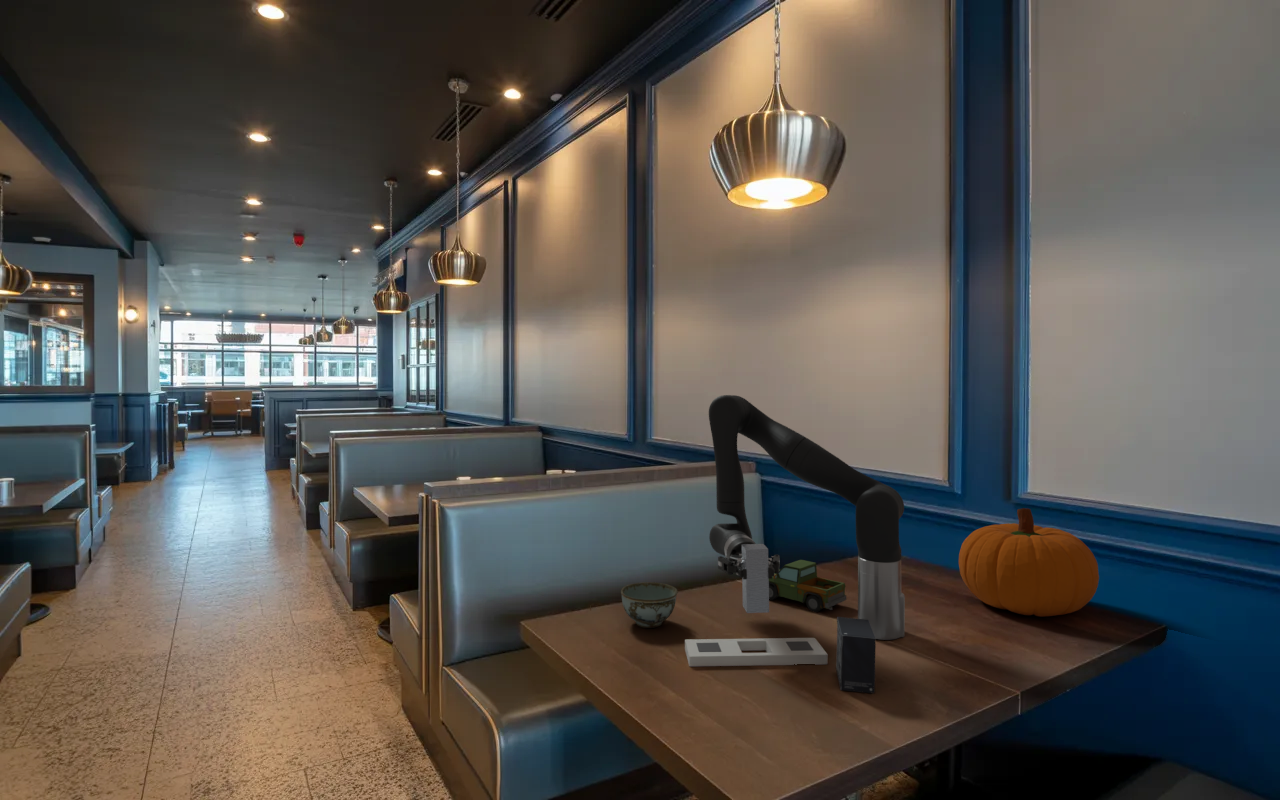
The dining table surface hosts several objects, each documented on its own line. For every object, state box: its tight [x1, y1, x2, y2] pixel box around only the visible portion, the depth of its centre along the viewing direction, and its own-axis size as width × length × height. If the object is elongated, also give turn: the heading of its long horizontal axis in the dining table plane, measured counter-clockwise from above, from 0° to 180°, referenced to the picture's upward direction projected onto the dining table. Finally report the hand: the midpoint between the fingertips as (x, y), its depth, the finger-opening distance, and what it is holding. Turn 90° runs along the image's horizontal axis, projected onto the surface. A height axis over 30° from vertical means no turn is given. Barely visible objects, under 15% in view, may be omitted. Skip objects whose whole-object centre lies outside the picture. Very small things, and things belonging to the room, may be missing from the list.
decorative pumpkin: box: [958, 507, 1100, 618], centre depth 171 cm, size 31×30×25 cm
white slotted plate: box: [684, 637, 829, 667], centre depth 140 cm, size 28×9×2 cm, turn 92°
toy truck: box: [769, 559, 847, 613], centre depth 175 cm, size 11×21×10 cm, turn 45°
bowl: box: [620, 581, 679, 629], centre depth 159 cm, size 14×13×8 cm
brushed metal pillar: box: [741, 543, 770, 614], centre depth 139 cm, size 5×5×13 cm
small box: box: [835, 616, 877, 694], centre depth 128 cm, size 11×6×10 cm, turn 168°
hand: (757, 574), depth 137 cm, fingers closed on brushed metal pillar, 4 cm apart
